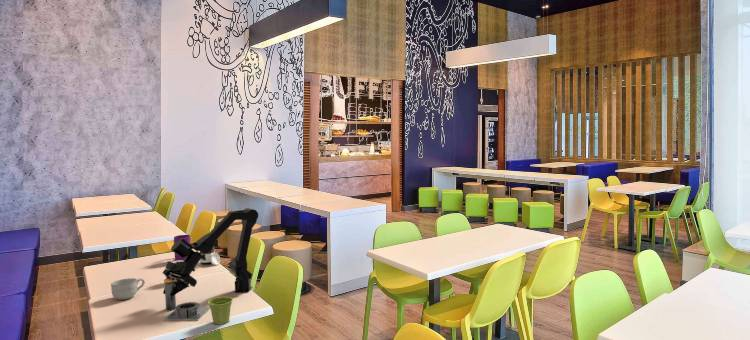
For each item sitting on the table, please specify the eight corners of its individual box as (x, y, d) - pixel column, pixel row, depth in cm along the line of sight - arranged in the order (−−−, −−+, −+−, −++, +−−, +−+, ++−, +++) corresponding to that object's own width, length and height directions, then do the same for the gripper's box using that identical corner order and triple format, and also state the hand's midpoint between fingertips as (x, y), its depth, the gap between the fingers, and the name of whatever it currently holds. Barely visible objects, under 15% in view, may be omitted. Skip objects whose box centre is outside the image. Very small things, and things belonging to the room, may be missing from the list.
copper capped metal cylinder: (178, 307, 205) (176, 277, 204) (173, 310, 201) (172, 280, 200) (168, 307, 206) (166, 277, 205) (163, 310, 201) (162, 280, 200)
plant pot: (206, 320, 190) (205, 299, 190) (230, 315, 195) (229, 295, 194) (211, 328, 182) (210, 306, 181) (236, 323, 187) (235, 301, 186)
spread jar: (203, 261, 280) (202, 242, 279) (222, 260, 281) (221, 241, 280) (197, 267, 268) (196, 246, 267) (218, 266, 269) (217, 246, 268)
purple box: (176, 264, 275) (175, 238, 274) (171, 258, 288) (170, 234, 287) (193, 261, 280) (192, 236, 279) (186, 256, 293) (185, 232, 292)
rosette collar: (210, 307, 204) (210, 300, 203) (197, 320, 190) (197, 312, 189) (178, 307, 204) (178, 300, 204) (163, 320, 190) (162, 312, 190)
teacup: (111, 303, 211) (110, 285, 211) (112, 296, 221) (111, 279, 220) (145, 298, 218) (144, 281, 217) (145, 291, 227) (144, 275, 227)
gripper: (165, 250, 210) (142, 281, 202) (189, 256, 199) (165, 289, 191) (182, 264, 217) (160, 294, 209) (206, 270, 206) (184, 302, 198)
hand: (167, 294), depth 202 cm, fingers open, 5 cm apart
